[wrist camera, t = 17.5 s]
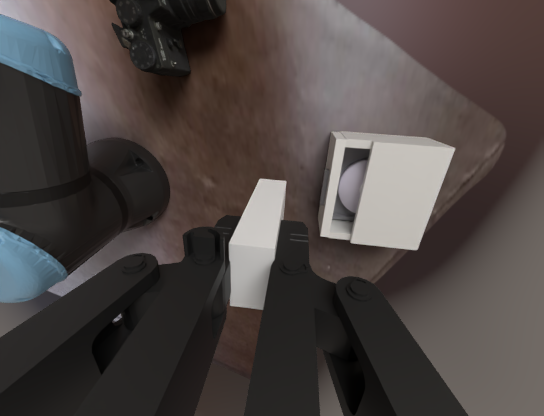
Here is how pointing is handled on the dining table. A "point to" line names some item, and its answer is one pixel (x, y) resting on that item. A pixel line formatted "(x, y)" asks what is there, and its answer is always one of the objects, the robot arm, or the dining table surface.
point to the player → (395, 189)
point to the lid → (352, 184)
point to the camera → (161, 31)
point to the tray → (336, 182)
